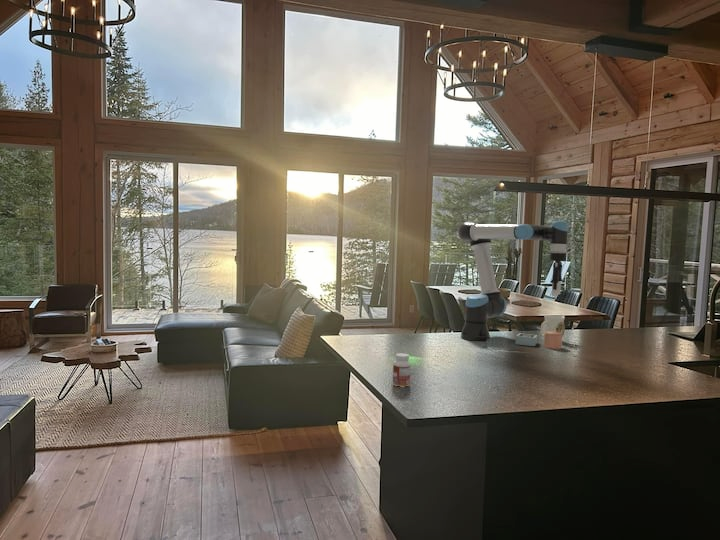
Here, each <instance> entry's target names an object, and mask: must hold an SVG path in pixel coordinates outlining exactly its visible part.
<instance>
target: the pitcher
mask: <svg viewBox="0 0 720 540" xmlns="http://www.w3.org/2000/svg"><path fill="white" fill-rule="evenodd" d="M565 316H566V315H565V314H551V315H550V314H549V315H544V321H543V322H542V323H541V324H540V333H541V335H542V336H543V338H545V332H547V331H553V332H560V333H562V335H563V336H562V339H563V338H564V336H565V331H566V330H565V329H566V327H565V322H564V321H565V319H566V317H565Z"/></svg>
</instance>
